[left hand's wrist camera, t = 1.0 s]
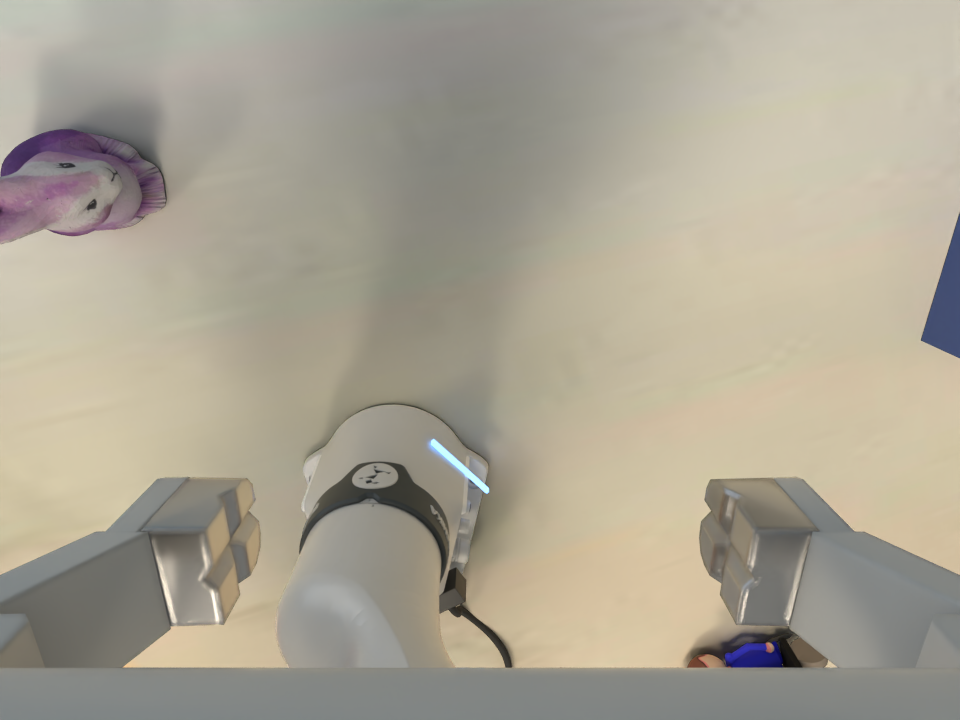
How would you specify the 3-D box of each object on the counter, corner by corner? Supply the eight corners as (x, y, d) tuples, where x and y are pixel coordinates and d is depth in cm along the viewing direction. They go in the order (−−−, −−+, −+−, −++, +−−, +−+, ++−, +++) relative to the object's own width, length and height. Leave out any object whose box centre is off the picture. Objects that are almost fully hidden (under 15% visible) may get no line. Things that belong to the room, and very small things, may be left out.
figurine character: (796, 607, 68) (675, 646, 67) (841, 660, 60) (705, 704, 60) (801, 648, 70) (684, 686, 70) (845, 704, 63) (714, 746, 63)
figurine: (194, 179, 49) (79, 195, 35) (124, 260, 51) (-10, 306, 37) (99, 89, 46) (-66, 68, 32) (30, 179, 49) (-150, 195, 35)
